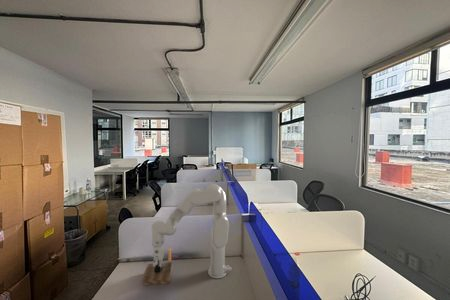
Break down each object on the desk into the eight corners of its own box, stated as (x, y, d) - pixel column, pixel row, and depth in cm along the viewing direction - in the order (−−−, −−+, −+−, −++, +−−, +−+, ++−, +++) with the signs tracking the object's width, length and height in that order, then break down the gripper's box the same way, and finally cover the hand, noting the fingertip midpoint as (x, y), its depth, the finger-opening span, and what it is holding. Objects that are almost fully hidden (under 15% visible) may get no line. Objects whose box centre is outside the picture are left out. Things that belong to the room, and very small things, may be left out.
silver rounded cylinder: (164, 272, 138) (164, 259, 138) (162, 278, 132) (162, 264, 132) (154, 273, 137) (154, 259, 137) (152, 279, 132) (152, 265, 131)
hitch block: (172, 271, 142) (172, 255, 141) (170, 283, 130) (170, 266, 129) (147, 272, 140) (147, 256, 139) (143, 285, 128) (142, 268, 127)
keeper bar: (168, 261, 137) (171, 261, 137) (168, 264, 134) (170, 264, 134) (168, 247, 136) (171, 247, 136) (168, 250, 133) (170, 250, 133)
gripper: (162, 248, 125) (162, 277, 126) (166, 234, 142) (166, 260, 144) (148, 249, 124) (149, 278, 126) (155, 235, 141) (155, 261, 143)
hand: (158, 268), depth 135 cm, fingers closed on silver rounded cylinder, 5 cm apart
